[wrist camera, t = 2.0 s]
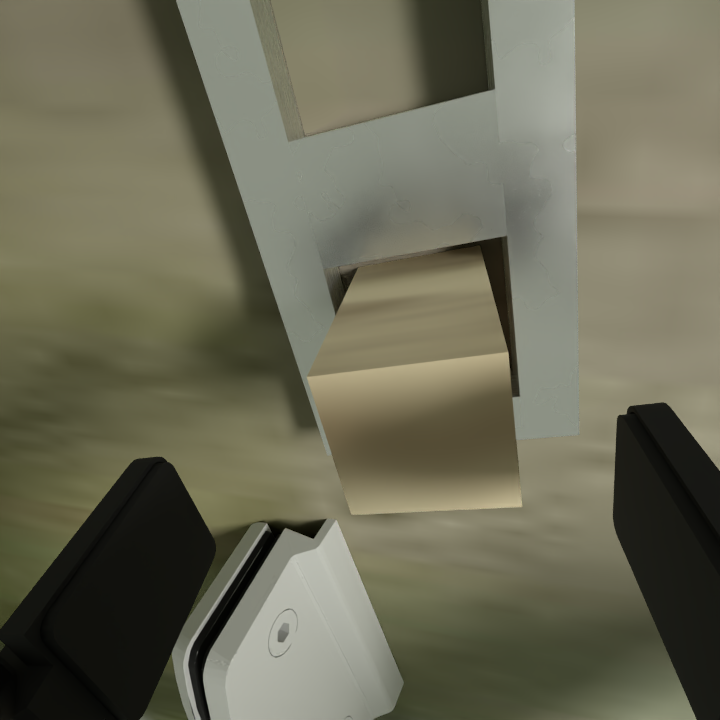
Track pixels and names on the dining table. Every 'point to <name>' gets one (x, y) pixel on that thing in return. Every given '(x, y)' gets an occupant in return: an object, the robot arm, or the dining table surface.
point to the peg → (419, 389)
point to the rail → (414, 184)
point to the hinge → (286, 636)
